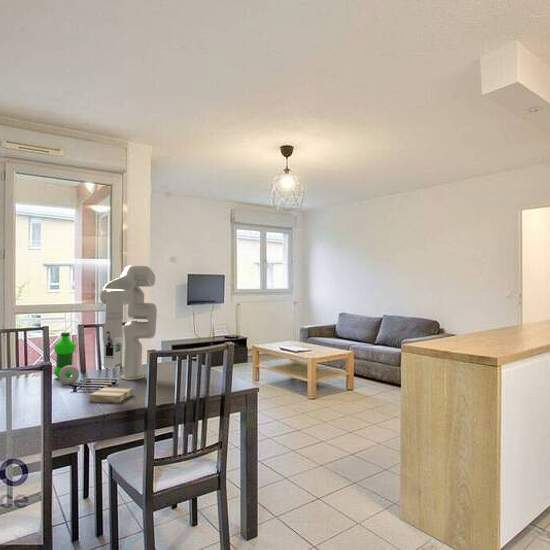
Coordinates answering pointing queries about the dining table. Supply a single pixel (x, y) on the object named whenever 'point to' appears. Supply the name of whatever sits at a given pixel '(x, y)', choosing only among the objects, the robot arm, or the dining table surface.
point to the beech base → (110, 394)
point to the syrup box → (114, 354)
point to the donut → (64, 378)
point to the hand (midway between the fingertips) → (112, 354)
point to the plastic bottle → (64, 353)
